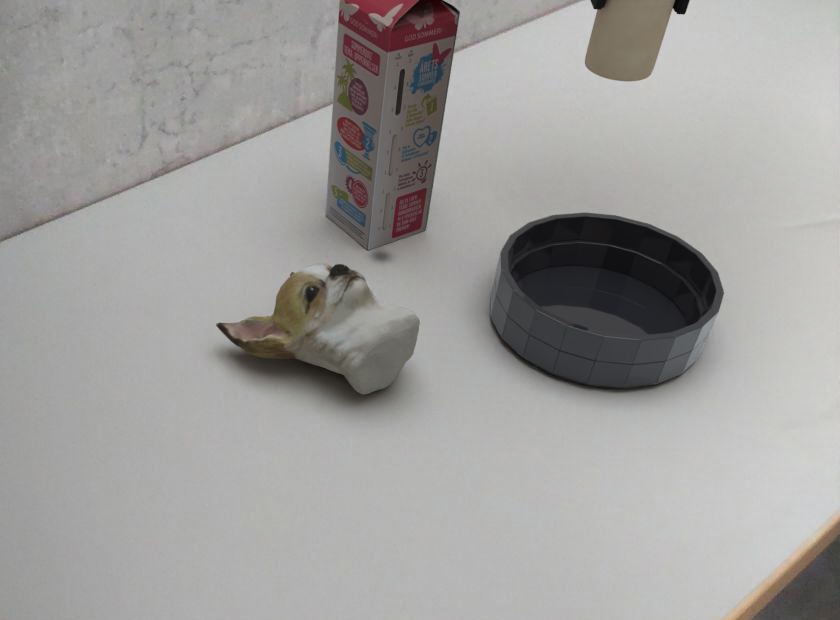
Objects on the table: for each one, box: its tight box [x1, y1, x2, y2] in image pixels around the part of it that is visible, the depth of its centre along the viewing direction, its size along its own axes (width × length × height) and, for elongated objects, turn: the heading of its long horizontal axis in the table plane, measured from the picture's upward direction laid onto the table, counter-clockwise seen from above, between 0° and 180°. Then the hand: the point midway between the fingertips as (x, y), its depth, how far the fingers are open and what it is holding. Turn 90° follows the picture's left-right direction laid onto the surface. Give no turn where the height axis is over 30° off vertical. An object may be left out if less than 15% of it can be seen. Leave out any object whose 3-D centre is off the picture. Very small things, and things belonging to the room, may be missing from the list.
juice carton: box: [325, 0, 461, 251], centre depth 79 cm, size 7×7×22 cm
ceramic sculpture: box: [215, 263, 421, 396], centre depth 71 cm, size 11×9×15 cm
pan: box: [489, 212, 725, 389], centre depth 76 cm, size 17×17×5 cm
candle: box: [584, 0, 675, 82], centre depth 73 cm, size 6×6×10 cm
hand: (636, 2), depth 73 cm, fingers closed on candle, 5 cm apart
